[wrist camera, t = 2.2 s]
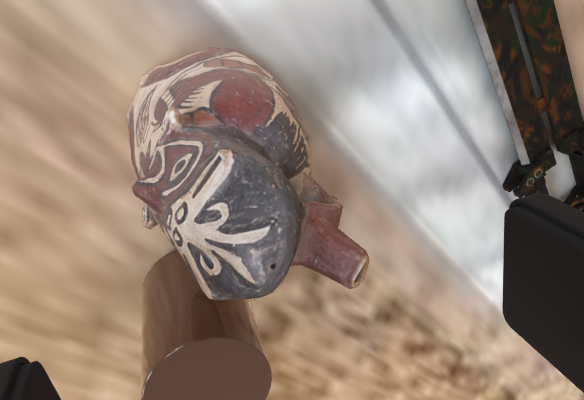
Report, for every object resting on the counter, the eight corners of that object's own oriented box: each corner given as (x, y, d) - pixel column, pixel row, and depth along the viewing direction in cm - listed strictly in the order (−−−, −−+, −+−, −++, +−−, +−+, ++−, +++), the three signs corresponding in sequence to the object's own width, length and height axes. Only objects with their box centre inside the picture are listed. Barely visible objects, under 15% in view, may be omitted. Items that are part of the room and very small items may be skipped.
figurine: (162, 15, 19) (185, 45, 8) (311, 87, 22) (469, 176, 11) (105, 172, 21) (62, 361, 10) (249, 219, 23) (335, 403, 13)
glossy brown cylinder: (128, 264, 23) (122, 365, 16) (228, 234, 24) (258, 320, 17) (159, 341, 25) (164, 455, 19) (249, 311, 26) (282, 411, 20)
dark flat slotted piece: (422, -115, 20) (440, -122, 18) (551, -186, 20) (577, -198, 19) (530, 293, 32) (545, 305, 30) (610, 244, 32) (628, 255, 31)
